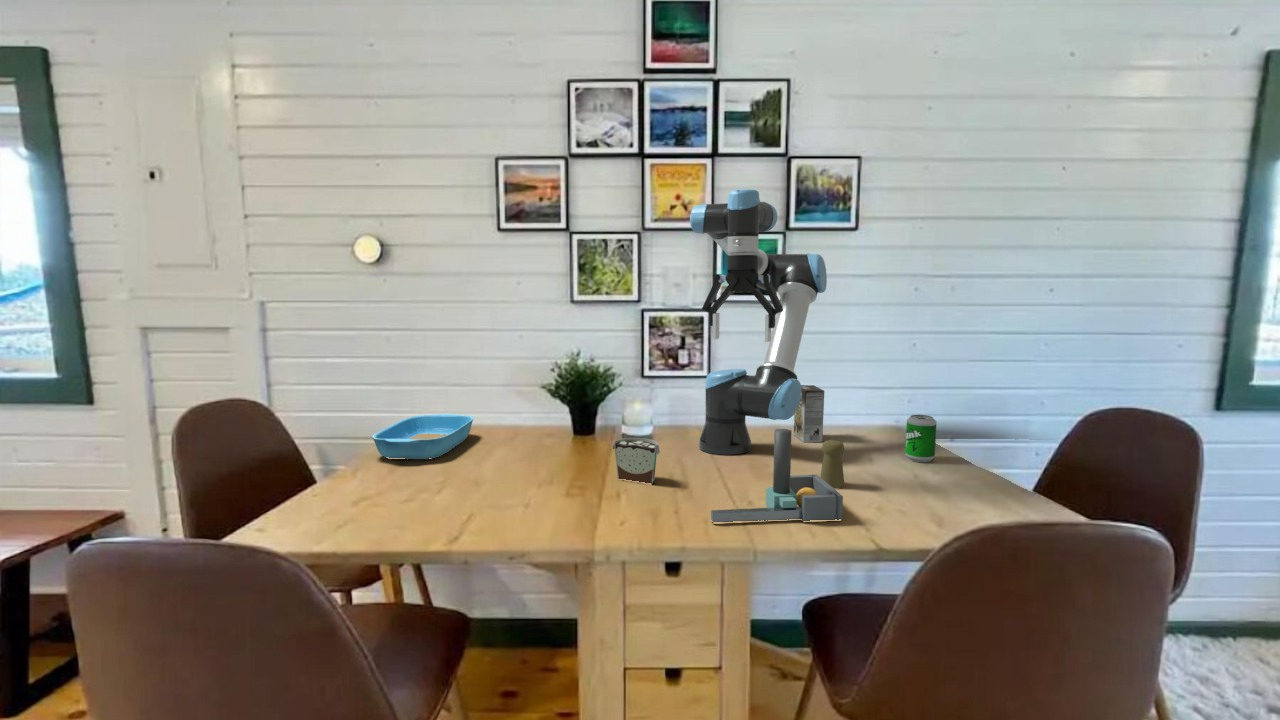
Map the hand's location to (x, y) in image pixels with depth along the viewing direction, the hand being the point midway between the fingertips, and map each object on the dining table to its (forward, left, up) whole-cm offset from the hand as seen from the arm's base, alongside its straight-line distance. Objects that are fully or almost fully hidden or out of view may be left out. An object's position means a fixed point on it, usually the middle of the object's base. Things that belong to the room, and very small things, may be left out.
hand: (741, 340), depth 171 cm
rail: (+14, -29, -35) cm, 47 cm away
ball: (+22, -18, -30) cm, 41 cm away
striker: (+18, -22, -34) cm, 44 cm away
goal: (+23, -17, -35) cm, 45 cm away
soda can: (+40, +35, -35) cm, 64 cm away
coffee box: (+7, +44, -35) cm, 57 cm away
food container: (-21, -15, -35) cm, 43 cm away
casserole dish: (-92, -16, -35) cm, 100 cm away
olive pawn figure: (+23, +2, -35) cm, 42 cm away
